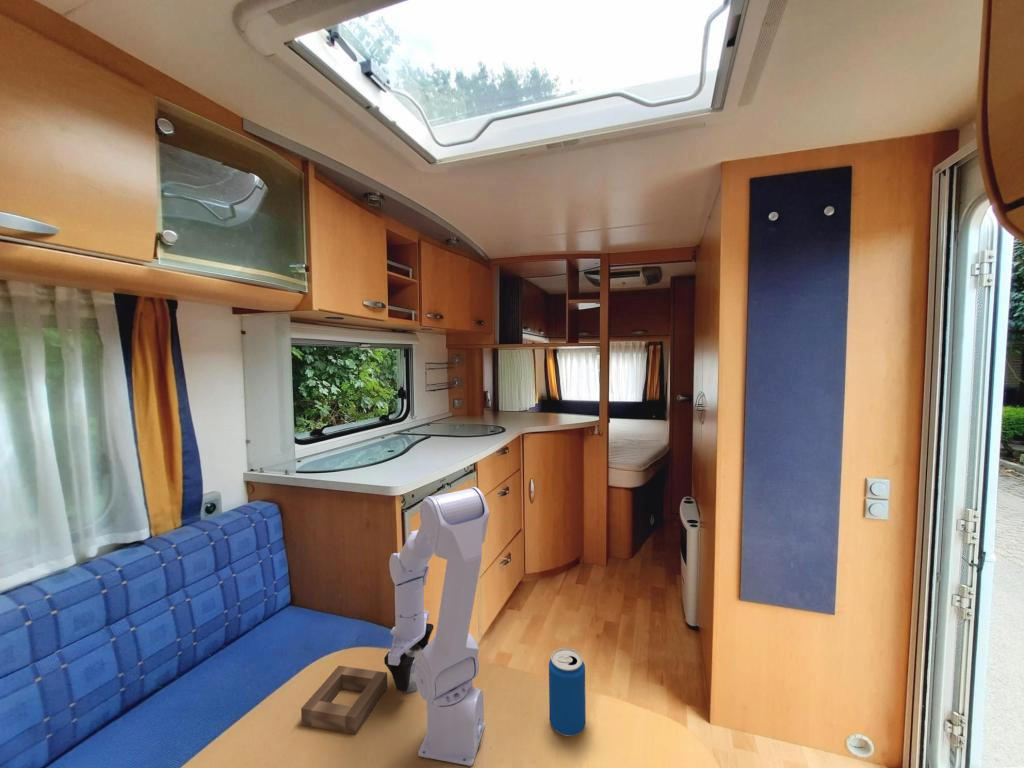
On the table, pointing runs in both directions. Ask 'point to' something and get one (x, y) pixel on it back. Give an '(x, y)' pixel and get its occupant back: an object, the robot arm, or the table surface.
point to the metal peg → (413, 667)
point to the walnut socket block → (343, 716)
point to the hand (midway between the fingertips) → (411, 675)
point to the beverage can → (567, 692)
